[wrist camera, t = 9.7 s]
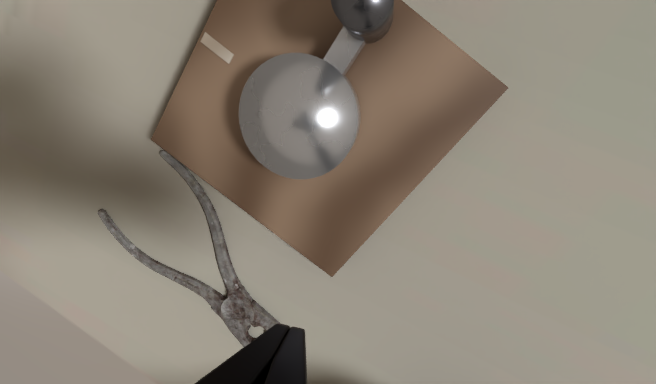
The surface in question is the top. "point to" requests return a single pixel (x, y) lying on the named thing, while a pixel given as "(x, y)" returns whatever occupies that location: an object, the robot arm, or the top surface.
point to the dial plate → (375, 125)
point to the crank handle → (311, 98)
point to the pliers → (238, 303)
